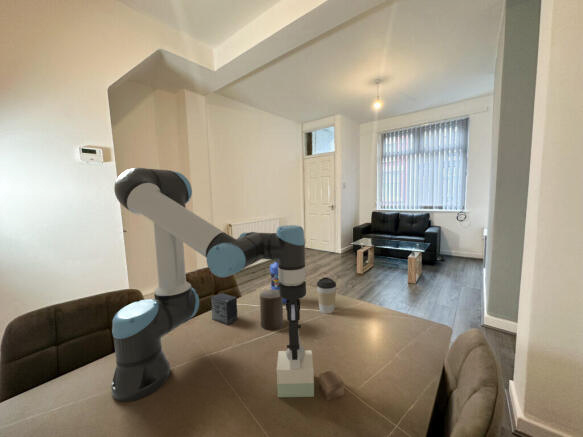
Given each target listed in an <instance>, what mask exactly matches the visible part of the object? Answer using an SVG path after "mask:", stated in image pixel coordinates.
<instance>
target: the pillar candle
mask: <svg viewBox="0 0 583 437" xmlns="http://www.w3.org/2000/svg"><path fill="white" fill-rule="evenodd" d="M259 301H260V303H259V306H260V315H259V316H260V326H261V328H263V329H264V330H269V331H274V330H278V329H280V328H282V327H283V326H284V304H283V298H282V297H281V296H280V294H279V290H271V289H265V290H264V291H261V292H260V293H259Z"/></svg>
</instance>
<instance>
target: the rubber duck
mask: <svg viewBox="0 0 583 437" xmlns="http://www.w3.org/2000/svg"><path fill="white" fill-rule="evenodd" d="M299 346H300V362H302V361H303V359H304V357H305V347H304V346H302V340H301V339H300V338H299ZM285 351H286V356H287V358H288V360H290V350H289V348H287V349H286V350H285Z"/></svg>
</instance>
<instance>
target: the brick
mask: <svg viewBox="0 0 583 437" xmlns="http://www.w3.org/2000/svg"><path fill="white" fill-rule="evenodd" d="M318 375H319V376H318V377H319V382H318V383H319V384H318V385H319V388H320V390H321V392H322V393H323V395H324V396H325V398H326V401H329V400H333V399H335V398H336V399H337V398H338V397H341V396H345V391H344V390H345V386H344V385H345V384H344V383H345V382H344V380H343V379H342V378H341V375H339V373H338V372H337V370H336V369H332V370H329V371H325V372H322V373H319V374H318Z"/></svg>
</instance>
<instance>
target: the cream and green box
mask: <svg viewBox="0 0 583 437" xmlns="http://www.w3.org/2000/svg"><path fill="white" fill-rule="evenodd" d="M312 351H313V350H305V357H304V359H303V361H302V362H300V369H290V360H288V358H287V356H286V350H278V352H277V353H278V354H277V361H276V362H277V364H276V387H277V398H304V397H306V398H311V397H312V398H314V397H315V379H314V377H315V374H314V372H315V370H314V362H313V360H314V359H313V353H312Z"/></svg>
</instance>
